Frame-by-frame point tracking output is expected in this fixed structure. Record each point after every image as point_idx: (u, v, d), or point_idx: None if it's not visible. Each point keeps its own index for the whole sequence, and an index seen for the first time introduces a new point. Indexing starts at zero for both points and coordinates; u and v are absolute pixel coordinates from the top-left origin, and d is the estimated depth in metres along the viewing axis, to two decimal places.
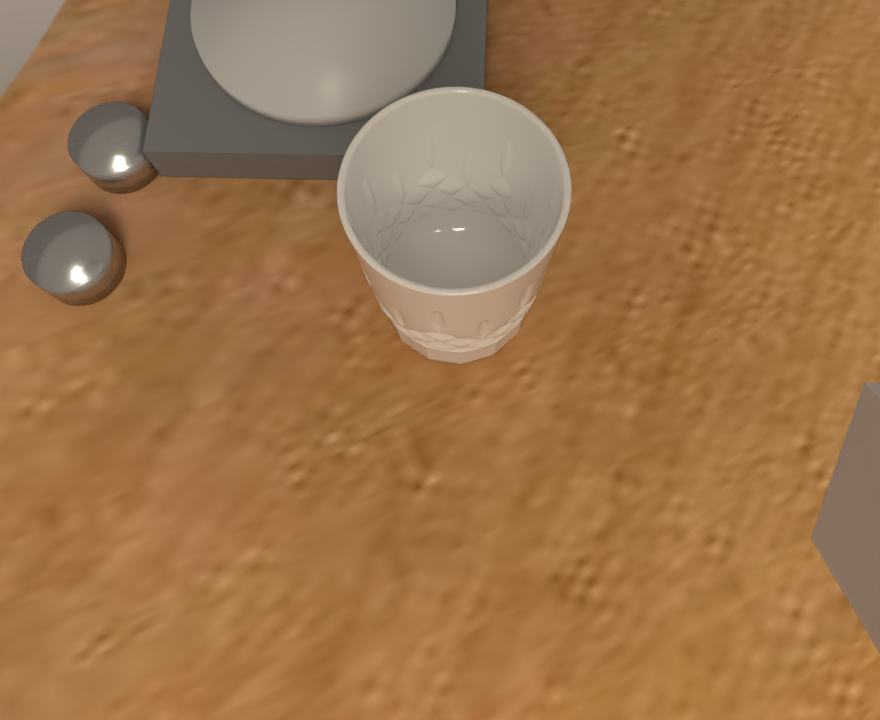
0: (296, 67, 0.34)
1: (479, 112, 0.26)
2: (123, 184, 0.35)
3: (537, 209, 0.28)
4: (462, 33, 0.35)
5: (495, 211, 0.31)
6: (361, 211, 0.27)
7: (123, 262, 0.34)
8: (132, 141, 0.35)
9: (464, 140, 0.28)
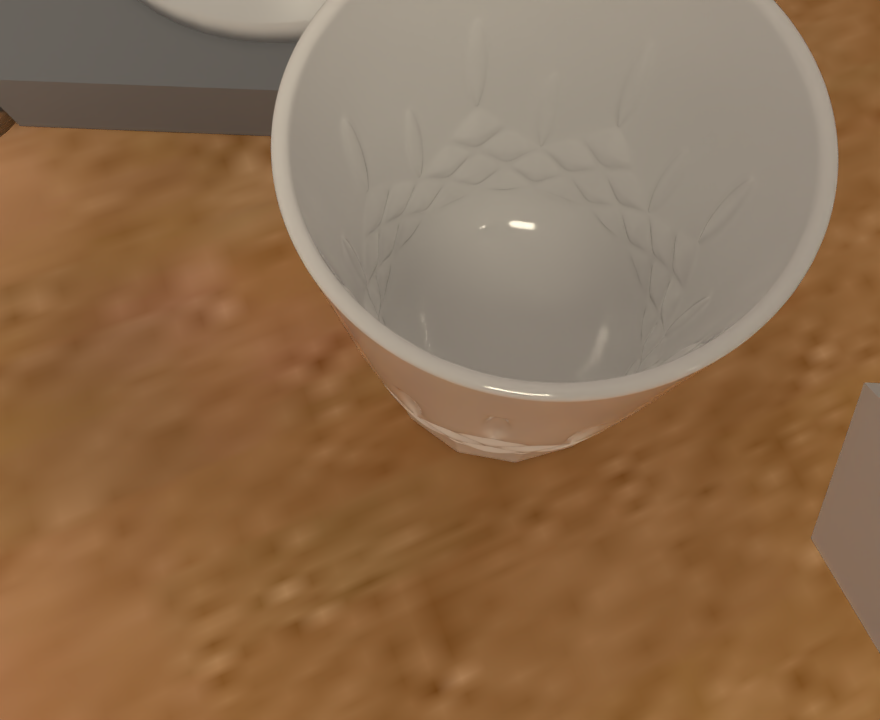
0: None
1: None
2: None
3: (690, 190, 0.14)
4: None
5: (588, 194, 0.17)
6: (336, 185, 0.13)
7: None
8: None
9: (551, 45, 0.13)
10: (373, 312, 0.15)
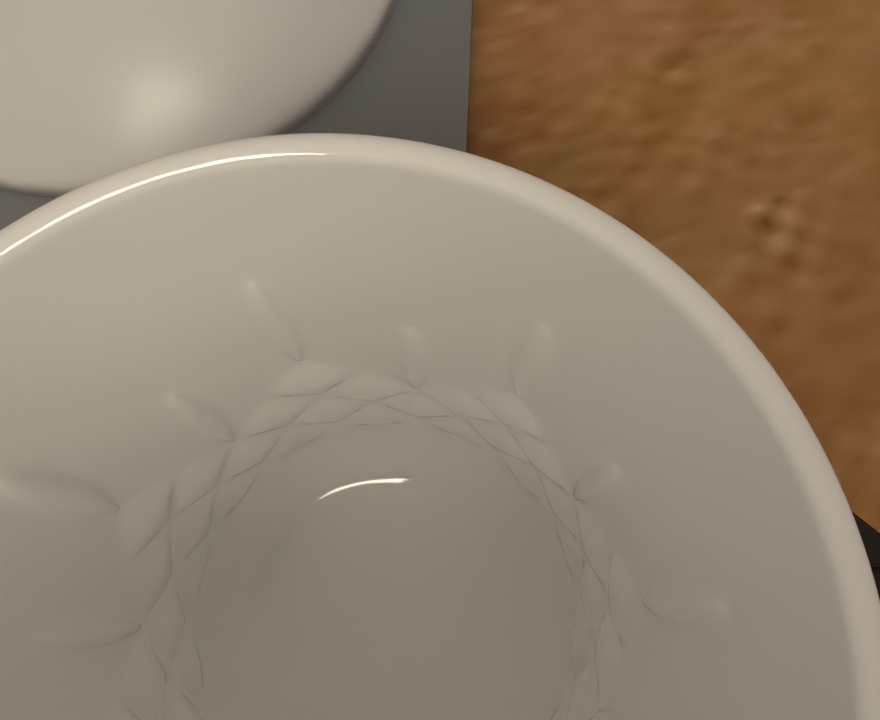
0: (29, 61, 0.15)
1: (435, 231, 0.07)
2: None
3: (627, 518, 0.09)
4: None
5: (492, 445, 0.12)
6: (5, 575, 0.07)
7: None
8: None
9: (391, 302, 0.08)
10: (142, 683, 0.10)
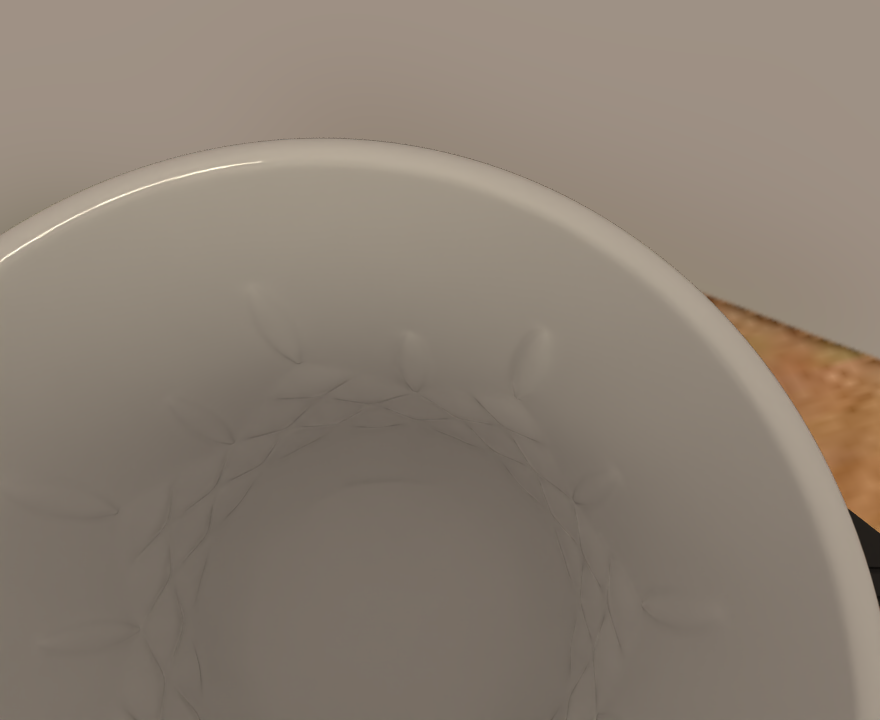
0: None
1: (436, 236, 0.07)
2: None
3: (626, 522, 0.09)
4: None
5: (491, 448, 0.12)
6: (4, 578, 0.07)
7: None
8: None
9: (391, 306, 0.08)
10: (141, 686, 0.10)
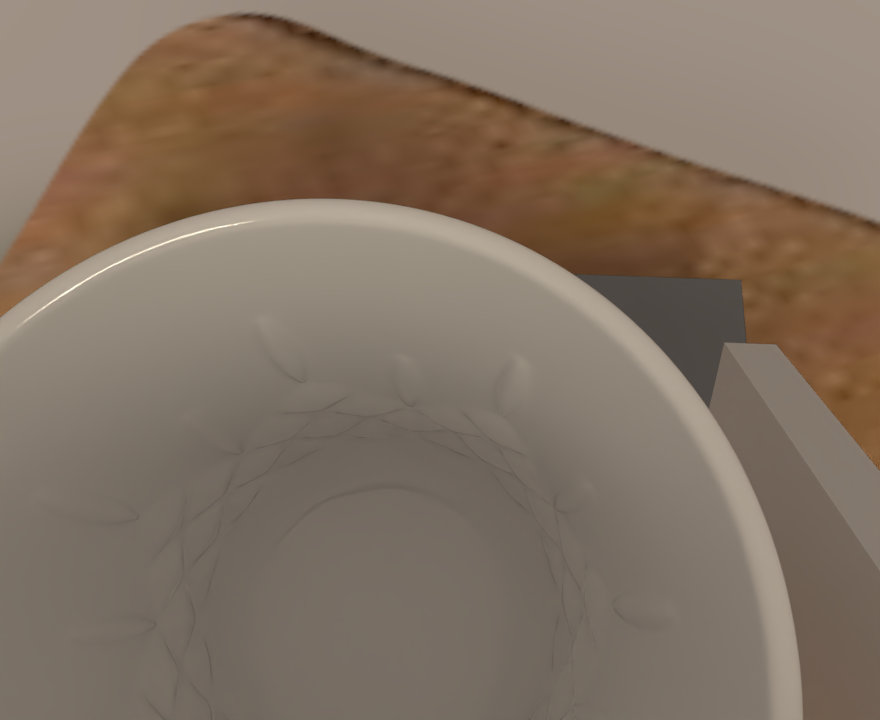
0: None
1: (424, 279, 0.07)
2: None
3: (598, 530, 0.10)
4: None
5: (481, 458, 0.13)
6: (41, 578, 0.08)
7: None
8: None
9: (386, 334, 0.09)
10: (157, 676, 0.11)
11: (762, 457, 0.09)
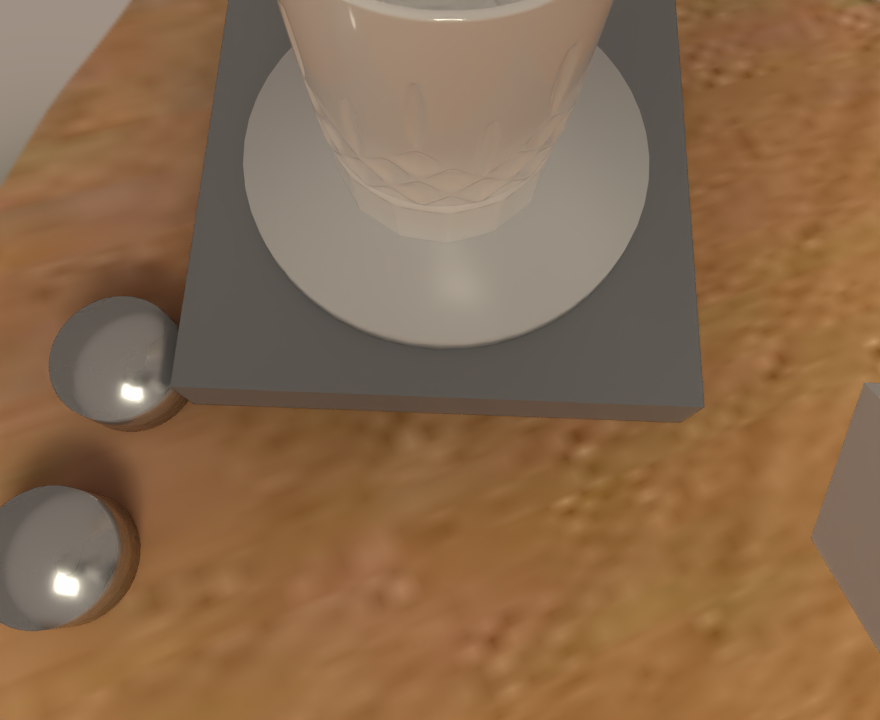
0: (412, 257, 0.22)
1: None
2: (136, 424, 0.23)
3: None
4: (654, 199, 0.23)
5: (503, 4, 0.20)
6: None
7: (135, 557, 0.22)
8: (152, 363, 0.22)
9: None
10: None
11: None
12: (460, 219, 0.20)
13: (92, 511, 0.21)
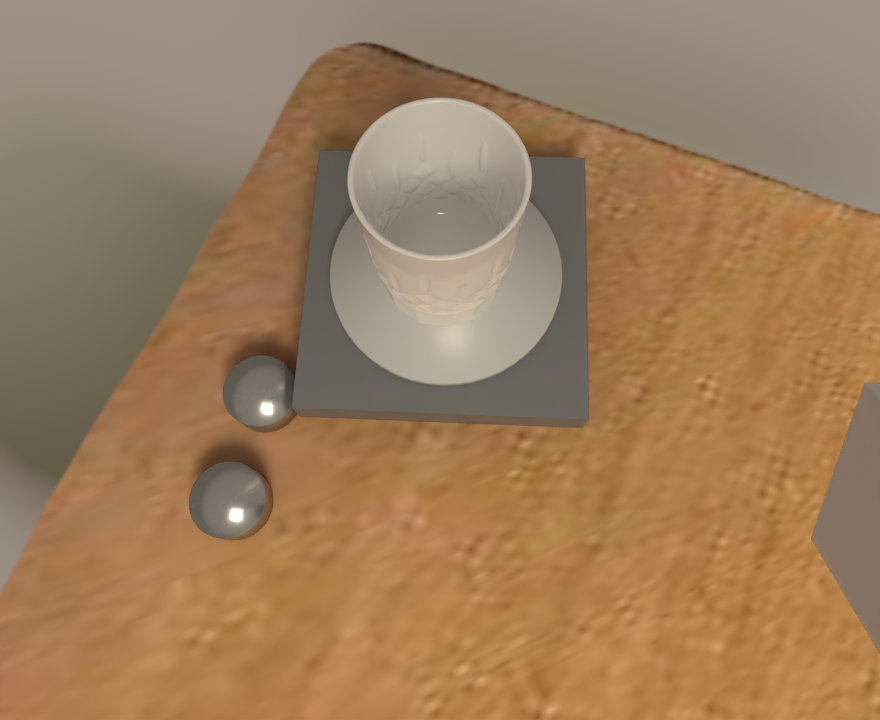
0: (426, 334, 0.39)
1: (461, 118, 0.33)
2: (269, 428, 0.40)
3: (507, 197, 0.35)
4: (566, 298, 0.40)
5: (475, 200, 0.38)
6: (365, 195, 0.33)
7: (271, 502, 0.39)
8: (280, 394, 0.40)
9: (449, 140, 0.34)
10: None
11: None
12: (451, 317, 0.38)
13: (251, 475, 0.38)
